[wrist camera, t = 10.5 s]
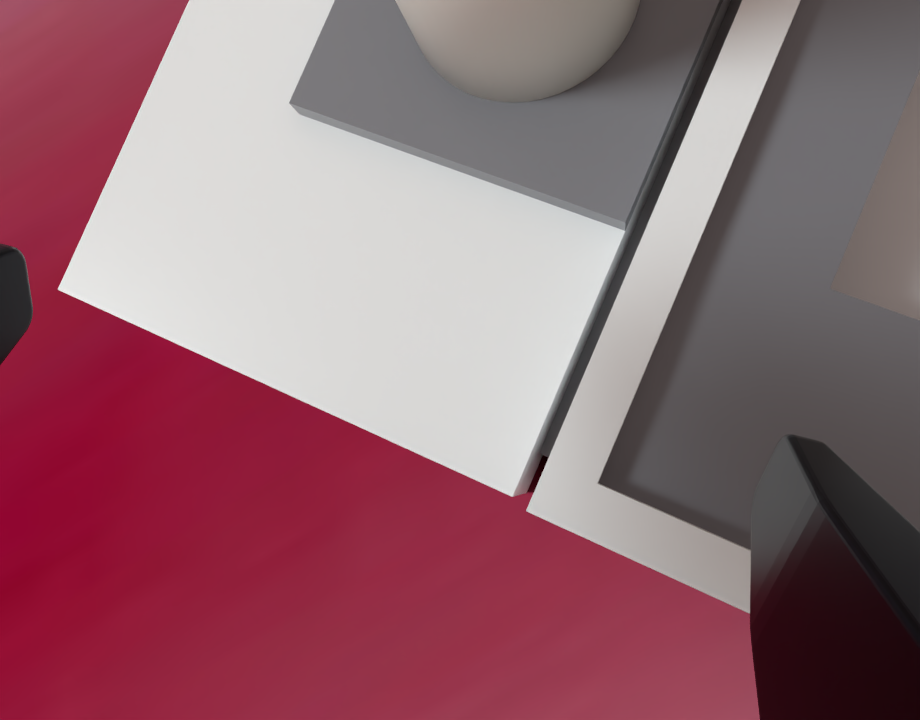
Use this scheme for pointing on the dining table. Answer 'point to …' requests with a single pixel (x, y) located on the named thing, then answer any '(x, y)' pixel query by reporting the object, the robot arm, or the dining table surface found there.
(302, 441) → the dining table surface
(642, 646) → the dining table surface
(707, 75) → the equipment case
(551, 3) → the ball
